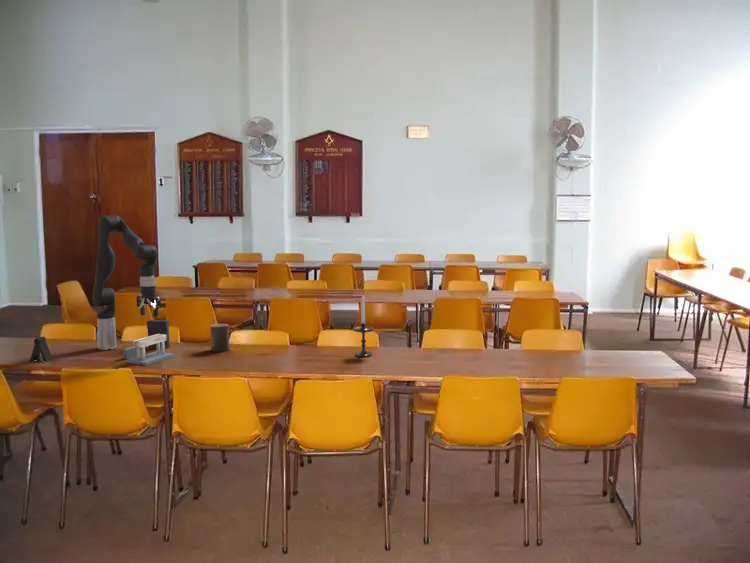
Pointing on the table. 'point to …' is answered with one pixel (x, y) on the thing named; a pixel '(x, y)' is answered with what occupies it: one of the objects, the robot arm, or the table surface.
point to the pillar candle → (219, 337)
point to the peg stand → (151, 356)
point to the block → (130, 352)
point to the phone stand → (40, 350)
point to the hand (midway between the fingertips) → (149, 316)
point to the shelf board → (149, 340)
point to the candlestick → (363, 330)
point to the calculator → (158, 330)
